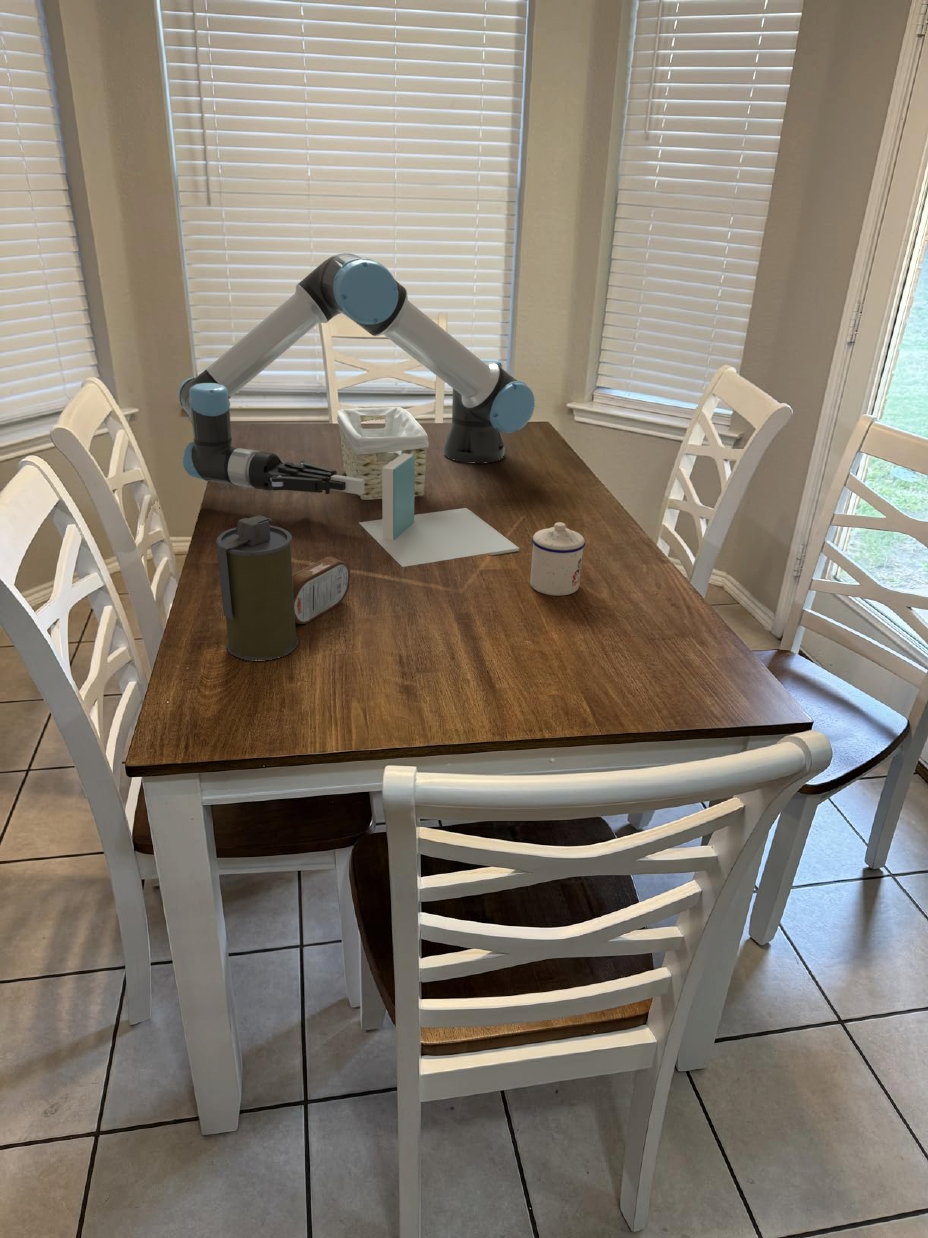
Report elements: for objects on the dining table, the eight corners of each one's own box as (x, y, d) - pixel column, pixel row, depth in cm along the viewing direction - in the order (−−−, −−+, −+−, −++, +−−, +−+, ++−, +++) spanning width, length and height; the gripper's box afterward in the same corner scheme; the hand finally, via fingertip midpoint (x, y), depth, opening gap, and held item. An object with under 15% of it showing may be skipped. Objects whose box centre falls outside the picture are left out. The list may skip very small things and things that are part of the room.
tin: (339, 594, 149) (337, 548, 145) (354, 598, 147) (353, 552, 144) (279, 628, 137) (276, 579, 133) (294, 634, 136) (292, 585, 132)
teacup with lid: (583, 598, 151) (590, 535, 145) (530, 596, 151) (535, 533, 145) (575, 569, 161) (581, 509, 156) (526, 567, 161) (530, 507, 156)
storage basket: (430, 500, 191) (431, 433, 184) (356, 505, 186) (354, 437, 180) (404, 466, 211) (404, 405, 204) (336, 470, 206) (334, 408, 200)
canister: (267, 621, 139) (258, 502, 130) (312, 644, 133) (306, 520, 124) (210, 646, 131) (196, 521, 122) (255, 671, 126) (244, 541, 116)
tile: (382, 537, 170) (382, 467, 163) (402, 520, 178) (403, 453, 171) (394, 539, 169) (394, 469, 162) (414, 522, 177) (414, 454, 171)
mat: (466, 510, 186) (466, 507, 186) (518, 550, 168) (519, 548, 168) (358, 525, 176) (358, 522, 176) (402, 569, 158) (402, 566, 158)
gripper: (273, 478, 185) (376, 495, 179) (240, 497, 174) (348, 515, 168) (271, 443, 182) (376, 459, 175) (237, 460, 171) (347, 478, 164)
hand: (362, 487), depth 172 cm, fingers closed
